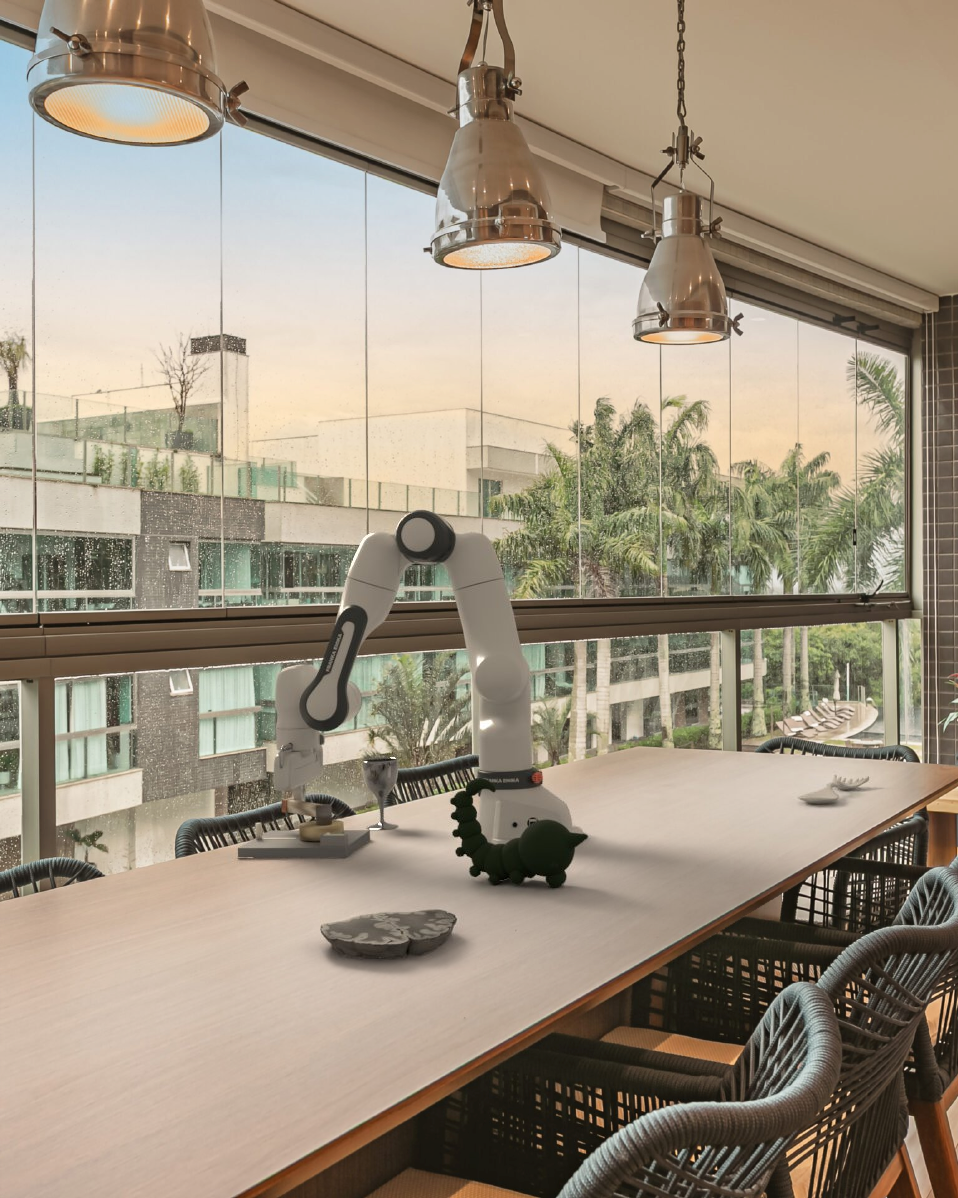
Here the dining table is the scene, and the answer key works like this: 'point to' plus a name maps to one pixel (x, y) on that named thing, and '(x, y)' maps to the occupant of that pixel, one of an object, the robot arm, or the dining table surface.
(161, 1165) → the dining table surface
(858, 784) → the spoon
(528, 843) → the toy figurine
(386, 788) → the wine glass
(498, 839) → the robot arm
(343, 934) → the brain slice
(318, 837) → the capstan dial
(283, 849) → the stand
